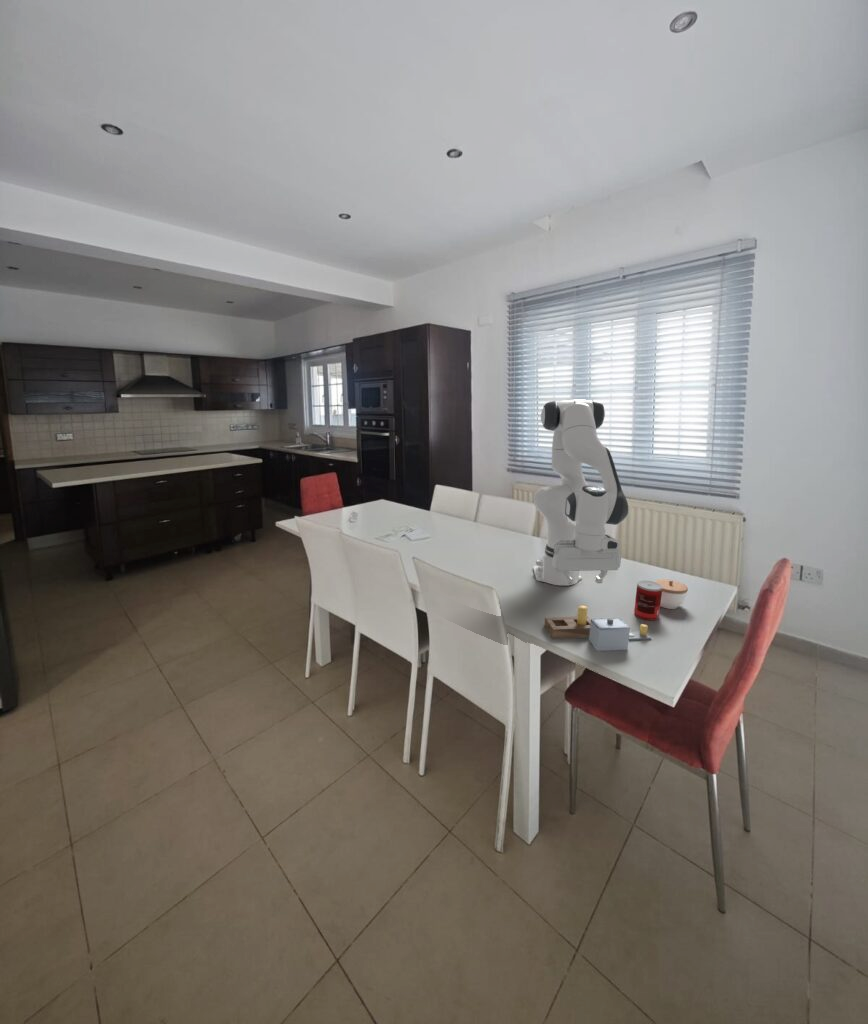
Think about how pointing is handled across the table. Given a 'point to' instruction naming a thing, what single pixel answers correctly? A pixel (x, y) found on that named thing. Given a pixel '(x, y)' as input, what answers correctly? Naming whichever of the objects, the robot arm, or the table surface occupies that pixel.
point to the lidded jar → (672, 593)
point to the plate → (637, 637)
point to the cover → (609, 634)
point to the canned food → (648, 600)
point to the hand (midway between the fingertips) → (583, 582)
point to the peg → (582, 615)
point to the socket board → (566, 627)
